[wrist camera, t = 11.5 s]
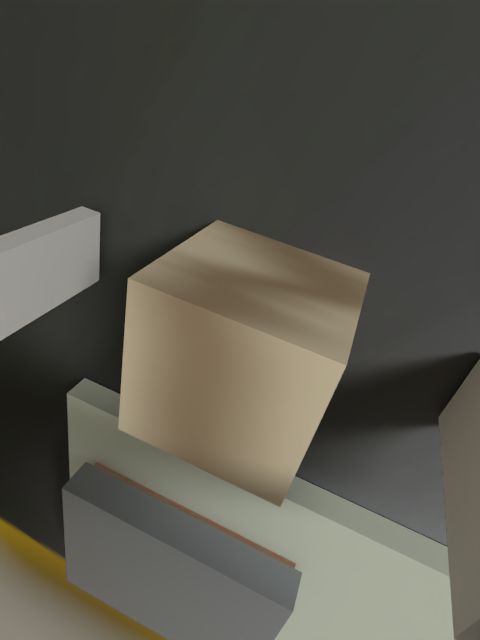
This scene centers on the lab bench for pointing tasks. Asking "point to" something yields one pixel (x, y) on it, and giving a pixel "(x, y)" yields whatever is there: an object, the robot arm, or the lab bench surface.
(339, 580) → the board
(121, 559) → the tile
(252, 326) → the block
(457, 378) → the lab bench surface
